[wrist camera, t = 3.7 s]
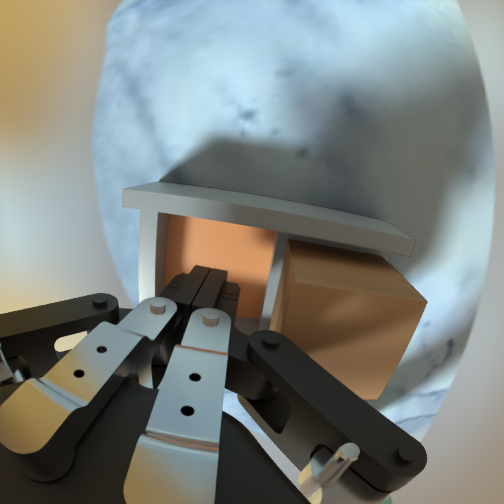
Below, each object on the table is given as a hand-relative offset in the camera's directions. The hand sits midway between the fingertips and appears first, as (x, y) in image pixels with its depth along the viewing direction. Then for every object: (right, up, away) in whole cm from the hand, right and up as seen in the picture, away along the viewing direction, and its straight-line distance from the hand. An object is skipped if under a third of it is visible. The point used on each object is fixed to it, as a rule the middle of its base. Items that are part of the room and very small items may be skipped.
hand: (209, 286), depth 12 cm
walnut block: (+6, -1, +1) cm, 6 cm away
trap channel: (+3, +1, +3) cm, 4 cm away
